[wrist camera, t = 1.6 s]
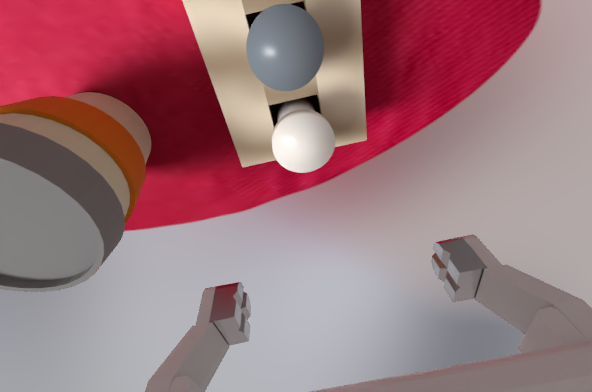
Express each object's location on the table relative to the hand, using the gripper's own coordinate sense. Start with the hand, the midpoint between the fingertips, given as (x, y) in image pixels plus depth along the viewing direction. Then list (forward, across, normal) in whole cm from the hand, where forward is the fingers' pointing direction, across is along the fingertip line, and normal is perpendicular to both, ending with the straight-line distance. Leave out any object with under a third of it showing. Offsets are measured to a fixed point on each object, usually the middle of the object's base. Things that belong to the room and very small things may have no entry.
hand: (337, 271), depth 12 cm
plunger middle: (+18, 0, -7) cm, 20 cm away
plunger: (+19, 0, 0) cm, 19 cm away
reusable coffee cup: (+22, +20, -2) cm, 30 cm away
